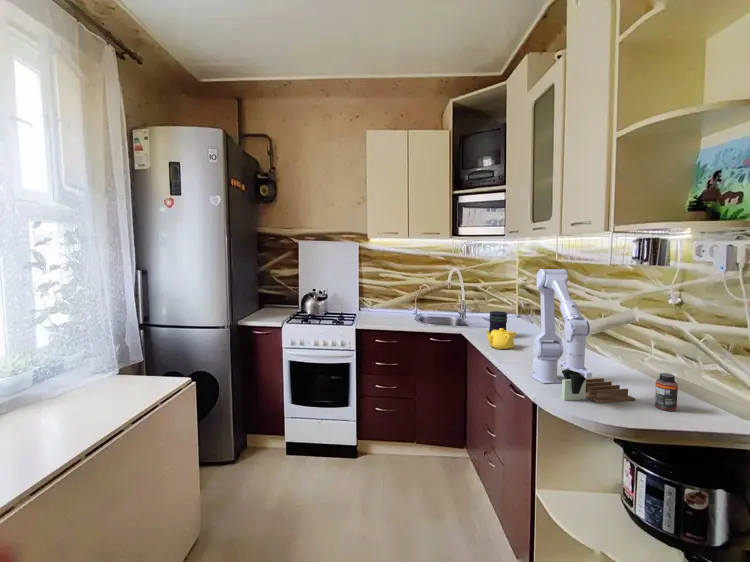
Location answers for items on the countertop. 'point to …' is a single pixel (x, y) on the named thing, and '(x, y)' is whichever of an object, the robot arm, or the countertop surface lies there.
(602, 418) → the countertop surface
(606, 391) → the dish rack
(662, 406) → the supplement bottle
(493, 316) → the storage jar
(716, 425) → the countertop surface
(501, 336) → the teapot
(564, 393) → the pale green flat block
